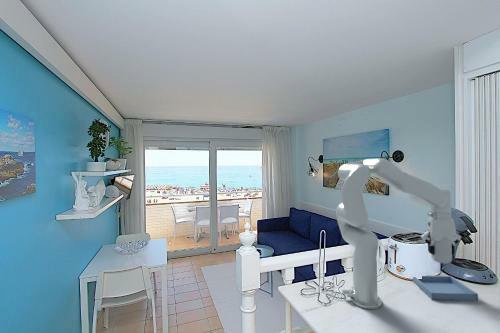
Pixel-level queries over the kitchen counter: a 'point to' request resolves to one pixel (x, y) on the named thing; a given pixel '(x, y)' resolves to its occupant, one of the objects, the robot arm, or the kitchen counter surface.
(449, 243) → the can
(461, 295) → the tray
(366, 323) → the kitchen counter surface
